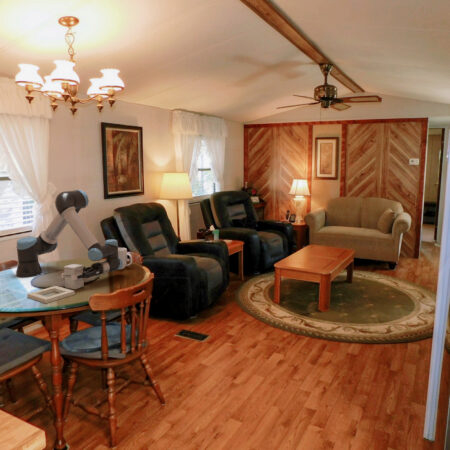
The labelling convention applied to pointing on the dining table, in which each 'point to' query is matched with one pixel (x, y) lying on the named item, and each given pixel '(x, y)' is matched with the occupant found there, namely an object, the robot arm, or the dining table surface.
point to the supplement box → (71, 271)
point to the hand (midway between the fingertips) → (66, 277)
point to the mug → (124, 257)
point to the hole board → (39, 294)
